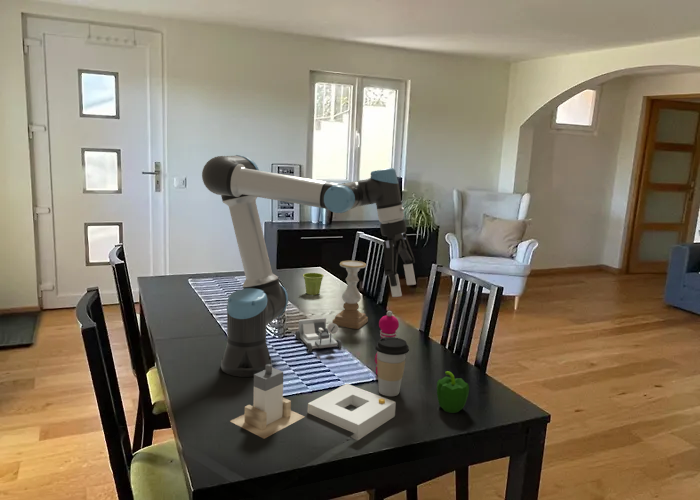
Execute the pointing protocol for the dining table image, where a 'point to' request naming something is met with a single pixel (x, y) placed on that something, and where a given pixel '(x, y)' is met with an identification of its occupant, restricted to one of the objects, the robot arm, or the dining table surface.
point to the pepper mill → (387, 328)
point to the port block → (358, 421)
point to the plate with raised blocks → (257, 420)
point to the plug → (269, 393)
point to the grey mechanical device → (317, 333)
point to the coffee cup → (390, 364)
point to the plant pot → (313, 283)
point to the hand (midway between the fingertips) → (404, 290)
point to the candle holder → (351, 298)
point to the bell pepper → (452, 393)
